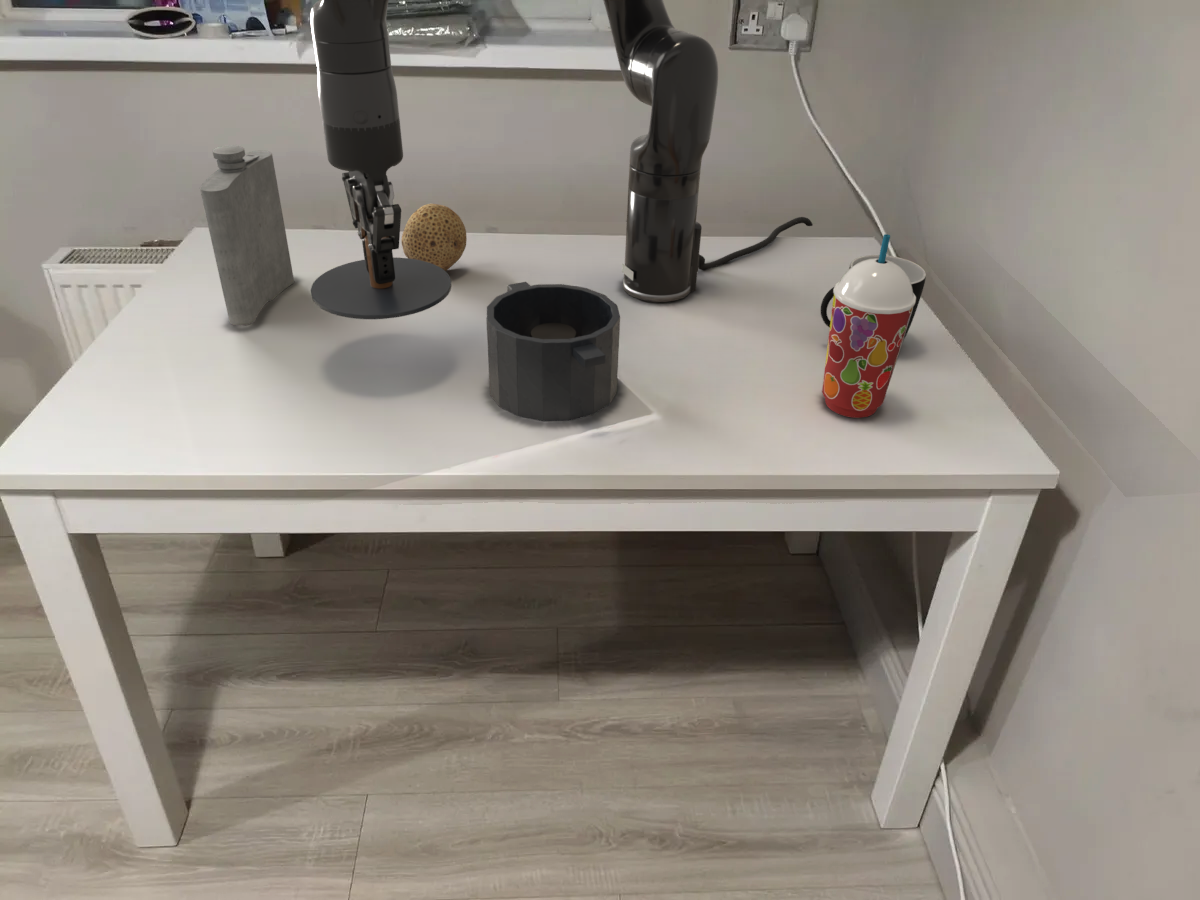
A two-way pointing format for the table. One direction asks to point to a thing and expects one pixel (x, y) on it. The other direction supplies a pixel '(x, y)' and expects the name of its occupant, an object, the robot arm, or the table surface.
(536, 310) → the pot
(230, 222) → the hip flask
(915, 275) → the mug
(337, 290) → the pot lid
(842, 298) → the smoothie
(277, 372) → the table surface
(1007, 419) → the table surface
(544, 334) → the tea tin
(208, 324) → the table surface
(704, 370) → the table surface
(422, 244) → the natural sponge
